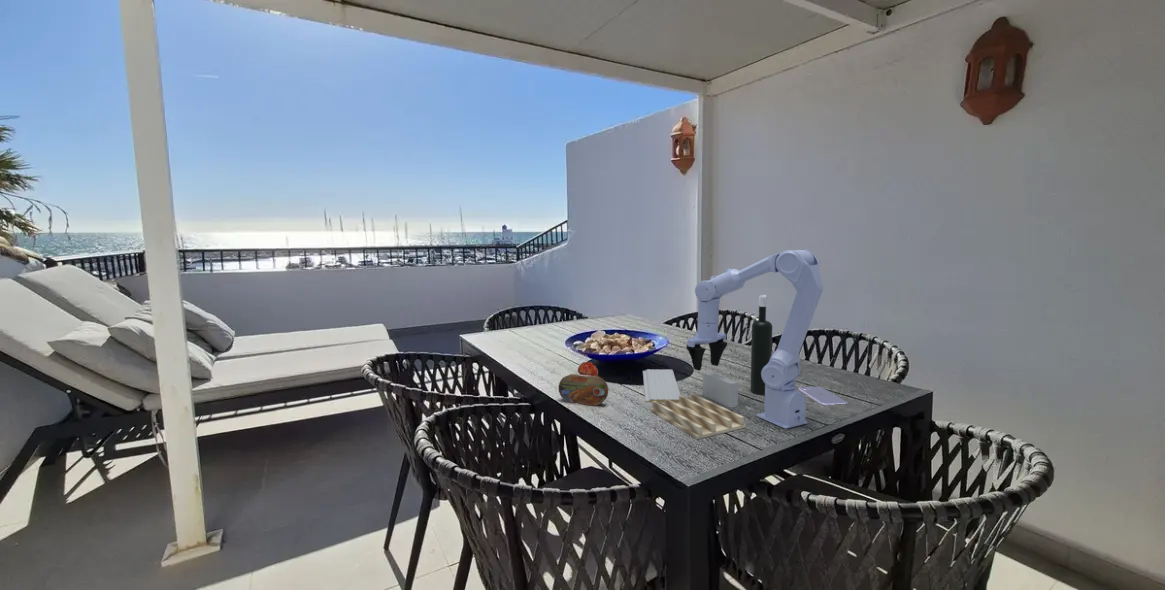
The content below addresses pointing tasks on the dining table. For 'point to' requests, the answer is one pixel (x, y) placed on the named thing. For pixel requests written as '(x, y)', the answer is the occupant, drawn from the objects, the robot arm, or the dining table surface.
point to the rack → (698, 416)
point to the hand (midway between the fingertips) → (706, 367)
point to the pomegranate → (588, 369)
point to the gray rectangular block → (720, 389)
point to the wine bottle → (760, 347)
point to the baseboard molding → (660, 385)
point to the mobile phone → (822, 395)
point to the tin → (583, 389)
